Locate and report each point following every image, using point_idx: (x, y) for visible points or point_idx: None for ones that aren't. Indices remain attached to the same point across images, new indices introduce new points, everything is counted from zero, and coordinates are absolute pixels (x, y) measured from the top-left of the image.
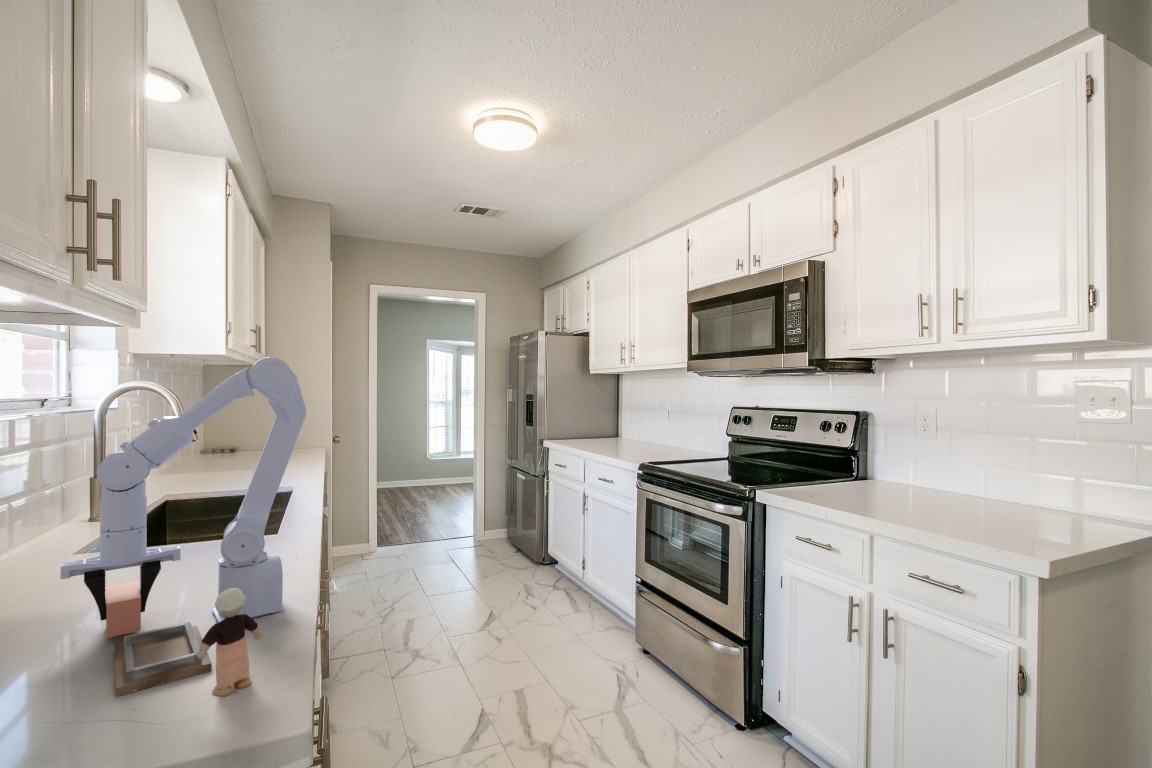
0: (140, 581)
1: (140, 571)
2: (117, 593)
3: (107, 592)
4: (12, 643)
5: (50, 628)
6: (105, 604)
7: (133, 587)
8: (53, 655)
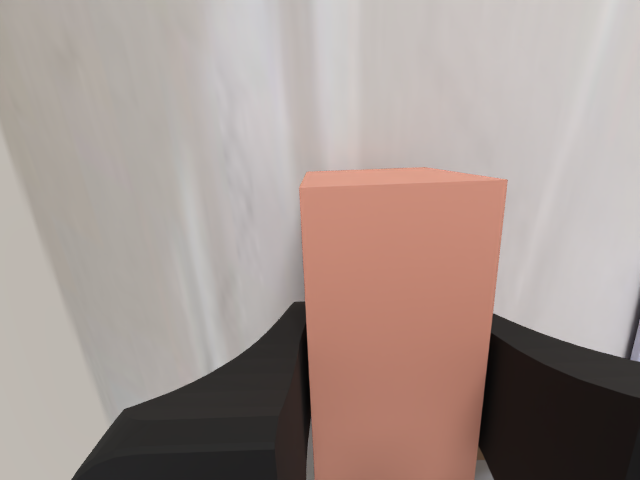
0: (517, 375)
1: (580, 430)
2: (366, 415)
3: (312, 361)
4: (18, 153)
5: (104, 41)
6: (309, 422)
7: (457, 349)
8: (187, 361)
